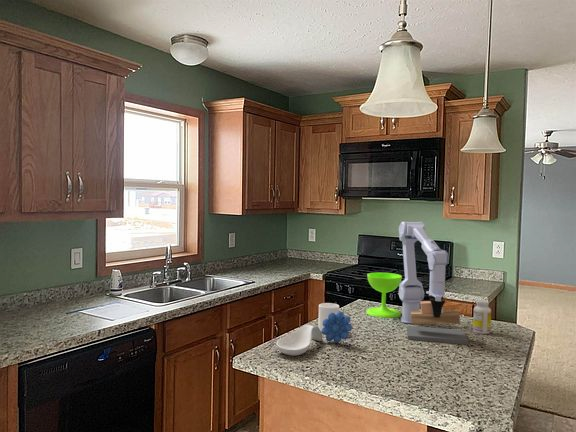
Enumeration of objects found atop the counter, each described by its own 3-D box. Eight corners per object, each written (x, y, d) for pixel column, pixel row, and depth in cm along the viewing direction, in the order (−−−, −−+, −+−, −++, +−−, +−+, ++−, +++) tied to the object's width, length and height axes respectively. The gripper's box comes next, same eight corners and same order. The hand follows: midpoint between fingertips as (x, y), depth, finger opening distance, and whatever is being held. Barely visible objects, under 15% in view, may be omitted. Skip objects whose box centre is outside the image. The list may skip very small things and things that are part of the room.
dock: (406, 329, 189) (406, 325, 189) (462, 333, 184) (462, 330, 184) (407, 339, 176) (407, 335, 175) (468, 344, 171) (468, 340, 171)
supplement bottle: (487, 330, 190) (488, 299, 190) (492, 334, 184) (494, 303, 183) (470, 329, 191) (471, 298, 190) (475, 334, 184) (476, 302, 184)
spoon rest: (299, 362, 150) (299, 340, 150) (269, 355, 156) (270, 334, 156) (330, 343, 170) (331, 324, 170) (303, 337, 177) (303, 319, 176)
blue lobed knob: (354, 341, 172) (355, 310, 171) (350, 347, 165) (351, 314, 165) (324, 337, 176) (325, 306, 175) (319, 342, 169) (320, 310, 169)
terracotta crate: (420, 311, 183) (420, 301, 183) (431, 310, 182) (430, 301, 182) (421, 313, 179) (421, 303, 179) (432, 313, 178) (431, 303, 178)
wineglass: (394, 319, 204) (395, 279, 203) (360, 314, 212) (361, 275, 211) (405, 312, 217) (406, 274, 217) (373, 307, 226) (374, 271, 225)
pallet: (411, 320, 184) (410, 310, 184) (458, 320, 180) (457, 310, 180) (411, 324, 179) (411, 314, 179) (459, 323, 175) (459, 313, 175)
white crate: (431, 310, 182) (430, 300, 182) (442, 310, 181) (441, 300, 181) (432, 313, 178) (432, 303, 178) (443, 313, 177) (442, 302, 177)
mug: (323, 324, 194) (324, 300, 194) (342, 326, 192) (343, 302, 191) (315, 331, 183) (316, 306, 183) (335, 334, 180) (336, 308, 180)
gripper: (425, 277, 187) (424, 310, 188) (427, 284, 173) (426, 319, 173) (443, 278, 185) (442, 311, 186) (447, 285, 171) (446, 320, 172)
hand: (436, 315), depth 180 cm, fingers closed on pallet, 5 cm apart
